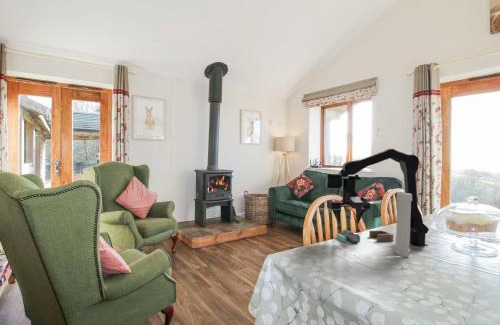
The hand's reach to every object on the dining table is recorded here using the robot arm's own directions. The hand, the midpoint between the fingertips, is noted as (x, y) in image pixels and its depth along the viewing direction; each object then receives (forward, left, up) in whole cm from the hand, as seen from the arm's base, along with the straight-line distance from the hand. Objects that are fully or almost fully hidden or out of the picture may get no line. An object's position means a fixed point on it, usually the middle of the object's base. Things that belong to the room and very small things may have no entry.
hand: (348, 223), depth 130 cm
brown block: (0, -16, -8) cm, 17 cm away
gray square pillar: (-19, -12, -8) cm, 24 cm away
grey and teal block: (-2, 0, -7) cm, 7 cm away
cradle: (0, 0, -8) cm, 8 cm away
